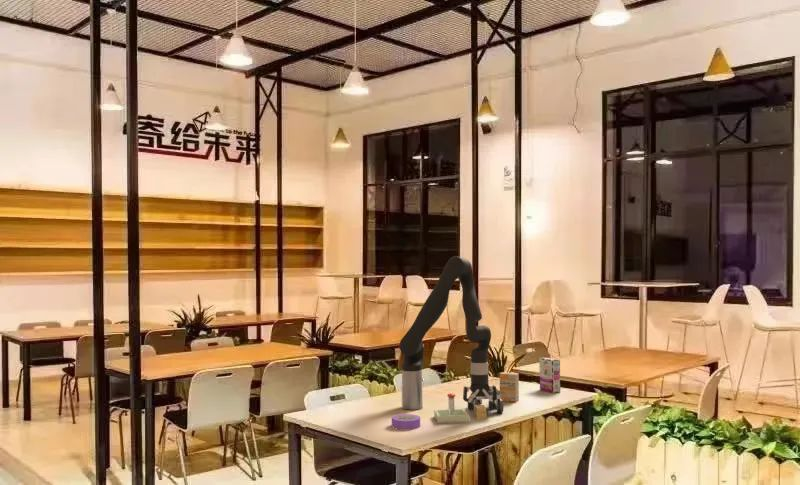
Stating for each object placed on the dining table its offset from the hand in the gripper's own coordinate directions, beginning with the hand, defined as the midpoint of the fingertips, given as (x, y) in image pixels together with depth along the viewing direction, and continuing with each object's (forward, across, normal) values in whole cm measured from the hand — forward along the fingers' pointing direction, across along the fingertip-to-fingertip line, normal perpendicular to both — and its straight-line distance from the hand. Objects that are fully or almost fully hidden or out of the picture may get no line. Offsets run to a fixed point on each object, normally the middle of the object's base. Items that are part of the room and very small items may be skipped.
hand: (480, 410), depth 289 cm
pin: (+2, +13, +3) cm, 13 cm away
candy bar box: (+3, -46, -50) cm, 68 cm away
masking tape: (+3, +33, +12) cm, 35 cm away
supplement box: (+3, -20, -30) cm, 36 cm away
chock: (+3, 0, 0) cm, 3 cm away
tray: (+3, +13, +4) cm, 14 cm away
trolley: (+3, -5, -12) cm, 13 cm away
